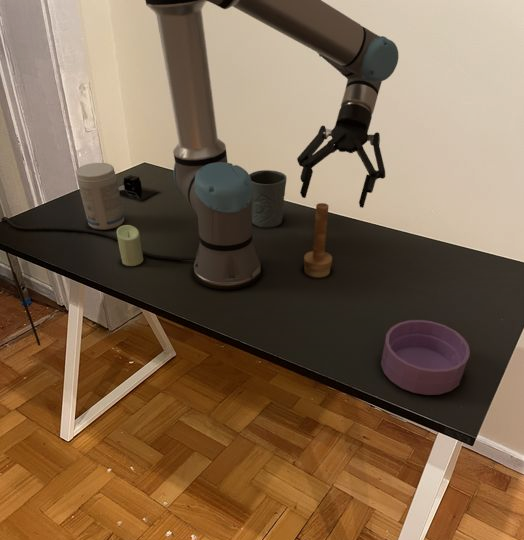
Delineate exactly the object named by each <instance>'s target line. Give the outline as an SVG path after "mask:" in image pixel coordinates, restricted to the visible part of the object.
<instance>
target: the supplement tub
mask: <svg viewBox="0 0 524 540" xmlns="http://www.w3.org/2000/svg"><path fill="white" fill-rule="evenodd" d="M75 174H76V181H77V184H78V189H79V193H80V196H81V201H82V204H83V209H84V214H85V217H86V220H87V225H88V226H89V227H90V228H92V229H94V230H96V231H109V230H112V229H117V228H119V227H120V226H122V225H123V223H124V221H125V214H124V209H123V204H122V199H121V195H120V194H119V189H118V187H119V185H118V178H117V174H116V171H115V168H114V166H113V165H112V164H110V163H107V162H93V163H87V164H83V165H81V166H79V167H78V168H77V169H75Z"/></svg>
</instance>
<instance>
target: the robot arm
mask: <svg viewBox="0 0 524 540" xmlns="http://www.w3.org/2000/svg"><path fill="white" fill-rule="evenodd" d="M144 1H145V6H147V7H148V8H149V9H150V10H151V11H152V12H153V13H154V14H155V16H156V21H157V25H158V26H157V27H158V33H159V38H160V43H161V50H162V55H163V60H164V67H165V71H166V78H167V84H168V90H169V95H170V101H171V105H172V112H173V119H174V123H175V129H176V135H177V141H178V143H177V144H176V145H175V147H174V149H173V150H172V151H173V152H172V153H173V158H174V164H173V170H172V171H173V173H172V174H173V181H174V183H175V186H176V188H177V190H178V192H179V193H180V195H181V196H182V197H183V198H184V199H185V200H186V202H187V203H188V204H189V205H190V207H191V209H192V210H193V211H194V212H195V214H196V216H197V224H198V225H197V227H198V237H199V245H198V248H197V251H196V256H168V255H167V256H166V255H158V254H153V253H148V252H146V251H143V250H142V254H143V256H145V257H149V258H153V259H159V260H167V261H168V260H169V261H194V263H193V275H194V278H195V279H196V281H197V282H198V283H199V284H201V285H202V286H204V287H207V288H210V289H214V290H222V291H231V290H238V289H242V288H246V287H248V286H250V285H252V284H254V283H255V282H256V281H257V280H258V279H259V278H260V276H261V267H262V266H261V261H260V258H259V256H258V254H257V250H256V247H255V244H254V242H253V223H252V196H253V189H252V184H251V178H250V176H249V174H250V173H248V171H247V170H246V169H245V168H243V167H242V166H239V165H238V164H235V165H234V164H233V163H231V162H228V155H227V146H226V144H225V142H224V141H222V140H221V139H220V138H219V137H218V136H219V135H218V129H217V121H216V114H215V113H216V112H215V105H214V97H213V89H212V81H211V73H210V65H209V57H208V56H209V55H208V49H207V48H208V47H207V41H206V33H205V32H206V31H205V25H204V17H203V8H204V6H205V4H206V3H207V2H208V3H211V4H212V5H215V6H217V7H218V8H221V9H222V10H228V9H230V8H231V7H233V8H234V9H237V10H238V11H240V12H242V13H244V14H246V15H248V16H250V17H252V19H255V20H257V21H259V22H261V24H264V25H265V26H268V27H269V28H271V29H273V30H275V31H277V32H279V33H281V34H283V35H284V36H286V37H288V38H290V39H292V40H293V41H295V42H297V43H299V44H301V45H303V46H304V47H307V48H308V49H310V50H312V51H314V52H315V53H317V54H318V56H319V57H321V58H322V59H324V60H325V62H327V63H328V64H329V65H331V66H332V67H333V68H334V69H335V70H336V71H338V72H339V73H340V74H341V75H342V76H343V77H345V78H346V79H347V81H346V86H345V90H344V92H343V97H342V101H341V104H340V109H339V110H338V114H337V118H336V121H335V125H334V127H333V128H332V129H329V128H326V126H325V125H320V127H319V130H318V132H317V134H316V135H315V137H314V138H312V140H311V141H310V142H309V144H308V145H307V146H306V147H305V148H304V149H303V151H302V152H301V153H300V154H299V155H298V156H297V158H296V160H297V163H298V165H299V167H302V170H301V174H300V176H299V177H300V181H301V183H302V184H301V189H300V191H299V193H300V196H301V198H302V199H306V198H307V193H308V191H309V188H310V184H311V180H312V177H313V174H314V171H313V168H314V167H315V166H316V165H318V164H319V163H320V162H322V161H323V160H325V158H327V157H328V156H330V155H331V154H334V153H335V152H337V151H339V153H349V154H353V153H356V154H357V156H358V157H359V159H360V161H361V162H362V165H364V167H365V170H366V172H367V173H368V174H366V175H365V179H364V182H363V185H362V186H363V187H362V190H361V193H360V194H361V195H360V197H359V200H358V204H359V208H360V209H361V208H363V209H364V207H365V203H366V200H367V196H368V193H369V194H372V193H373V191H374V188H375V185H376V181H377V180H378V179H385V178H386V168H385V164H384V159H383V155H382V151H381V148H380V143H381V136H380V135H381V134H380V132H375V133H374V134H368V132H369V129H370V125H371V123H372V122H371V121H372V117H373V116H372V115H373V114H374V111H375V107H376V105H377V100H378V96H379V92H380V90H381V85H382V83H383V82H384V81H386V80H388V79H389V78H390V77H391V76H392V75H393V74H394V72H395V70H396V67H397V65H398V63H399V50H398V47H397V45H396V43H395V42H394V41H393V40H391V39H389V38H388V37H386V36H383V35H382V36H380V35H378V34H376V33H375V32H373V31H372V30H370V29H368V28H367V27H365V26H363V25H361V24H360V23H359V22H358V21H355V20H354V19H352V18H351V17H349V16H347V15H345V13H342V12H341V11H339V10H337V9H336V8H334V7H333V6H331V5H330V4H329V3H327V2H325V1H323V0H144ZM329 137H331V139H329V140H328V141H327V143H326V144H325V145H324V146H322V144H323V143H324V142H325V140H327V139H328V138H329ZM368 142H369V144H370V145H371V146H373V153H374V158H375V161H376V165H377V169H375V167H374V165H373V163H372V162H371V160H370V157H369V156H368V155H367V152H366V150H365V148H364V145H365V144H366V143H368ZM321 146H322V147H321ZM0 221H1V222H5V221H6V222H7V223H8V224H9V225H10V226H12V227H13V228H15V229H18V230H23V231H24V230H25V231H64V232H65V231H67V232H78V233H79V232H80V233H89V234H93V235H99V236H101V237H105V238H109V239H112V240H115V241H116V242H118V238H117V236H116V235H112V234H109V233H106V232H102V231H99V230H93V229H85V228H77V227H63V226H62V227H61V226H60V227H59V226H58V227H57V226H55V227H54V226H20V225H17V224H16V223H14V222H13V221H12V220H11V219H10V218H9V217H8V216H3V217H1V219H0ZM11 273H12V275H13V279H14V282H15V284H16V288H17V290H18V293H19V296H20V298H21V301H22V304H23V307H24V310H25V312H26V314H27V318H28V321H29V323H30V326H31V328H32V332H33V335H34V337H35V341H36V343H37V346H41V342H40V338H39V336H38V333H37V330H36V326H35V324H34V321H33V319H32V315H31V313H30V310H29V308H28V304H27V302H26V299H25V296H24V294H23V291H22V287H21V285H20V282H19V279H18V276H17V273H16V272H14V270H13V271H12V270H11Z"/></svg>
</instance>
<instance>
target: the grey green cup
mask: <svg viewBox="0 0 524 540" xmlns="http://www.w3.org/2000/svg"><path fill="white" fill-rule="evenodd" d="M248 174H249V176H250V178H251V184H252V189H253V196H252V225H255V226H256V227H258V228H259V227H260V228H275V227H277V226H279V225H281V224H282V222H283V218H284V202H285V196H286V186H287V175H286V174H285V173H283V172H281V171H278V170H271V169H269V170H268V169H266V170H265V169H263V170H257V171H253V172H251V173H248Z"/></svg>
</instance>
